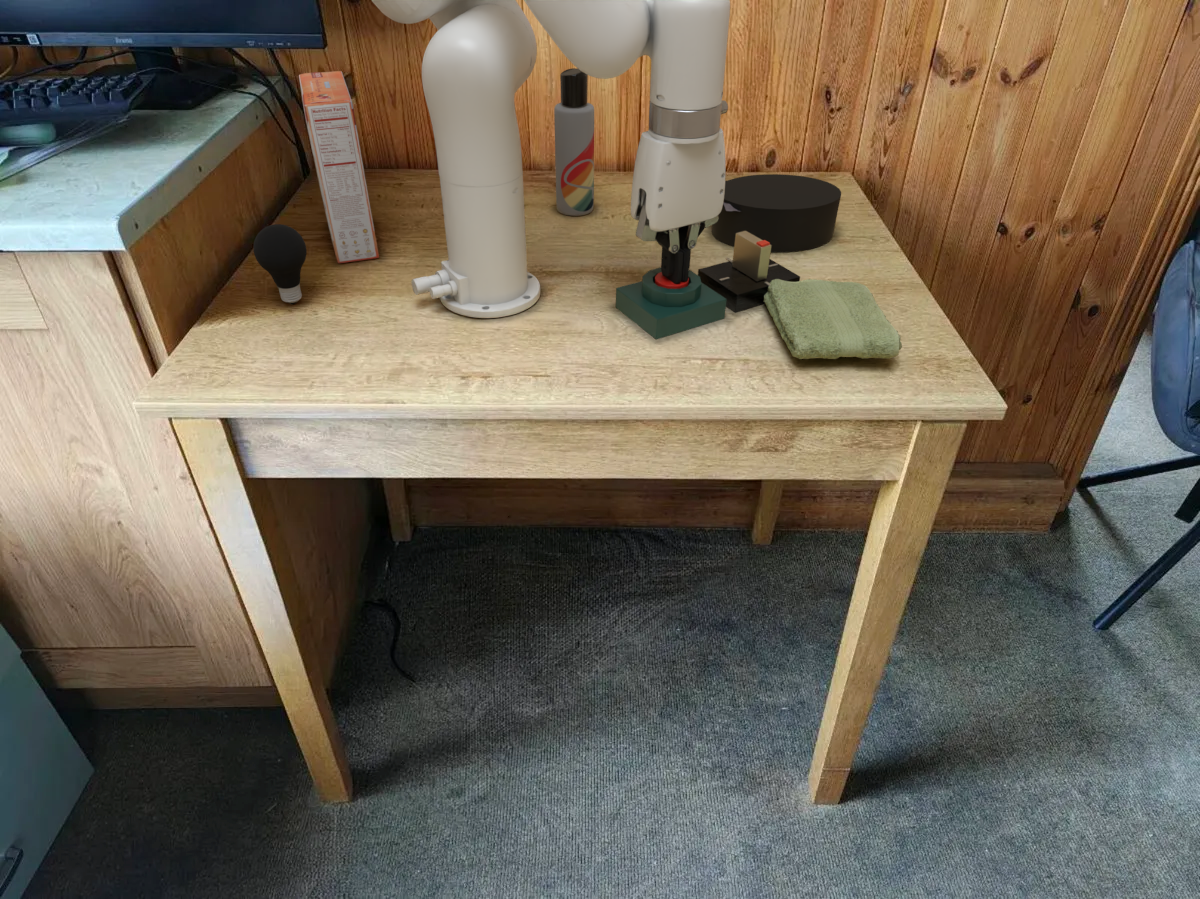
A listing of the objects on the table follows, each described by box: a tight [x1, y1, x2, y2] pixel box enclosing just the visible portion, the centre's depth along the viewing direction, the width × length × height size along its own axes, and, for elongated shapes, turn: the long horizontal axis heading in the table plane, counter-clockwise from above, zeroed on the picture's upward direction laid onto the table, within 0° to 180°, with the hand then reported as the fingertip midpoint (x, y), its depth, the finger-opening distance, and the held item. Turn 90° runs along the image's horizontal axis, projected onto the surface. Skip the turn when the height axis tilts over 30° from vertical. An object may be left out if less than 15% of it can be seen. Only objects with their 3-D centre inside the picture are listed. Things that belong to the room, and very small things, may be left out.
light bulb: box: [253, 223, 308, 305], centre depth 100 cm, size 6×6×10 cm
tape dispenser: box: [710, 173, 842, 253], centre depth 120 cm, size 14×18×8 cm
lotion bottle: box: [553, 67, 595, 217], centre depth 122 cm, size 6×6×20 cm
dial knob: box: [732, 231, 772, 281], centre depth 104 cm, size 5×2×5 cm, turn 31°
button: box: [655, 272, 689, 289], centre depth 100 cm, size 4×4×2 cm
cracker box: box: [298, 70, 380, 264], centre depth 111 cm, size 14×6×21 cm, turn 18°
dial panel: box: [697, 257, 801, 314], centre depth 107 cm, size 10×9×3 cm
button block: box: [615, 266, 727, 340], centre depth 101 cm, size 10×9×4 cm
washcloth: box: [764, 278, 903, 360], centre depth 98 cm, size 13×18×3 cm
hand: (674, 278), depth 99 cm, fingers closed
